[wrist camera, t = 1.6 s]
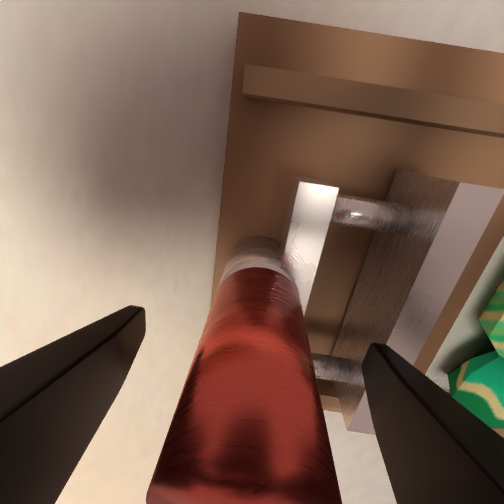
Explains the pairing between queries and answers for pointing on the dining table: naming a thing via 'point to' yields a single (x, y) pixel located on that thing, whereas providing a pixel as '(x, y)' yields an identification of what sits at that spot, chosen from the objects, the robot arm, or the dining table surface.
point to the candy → (484, 370)
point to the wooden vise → (354, 147)
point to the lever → (297, 343)
